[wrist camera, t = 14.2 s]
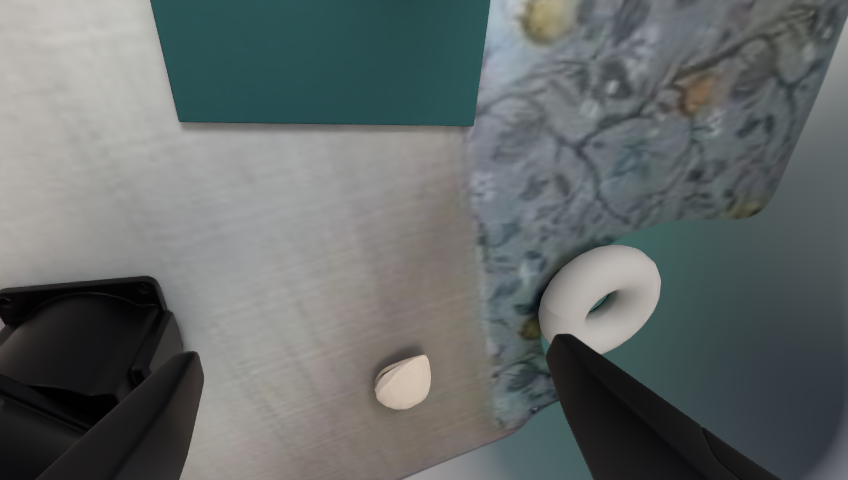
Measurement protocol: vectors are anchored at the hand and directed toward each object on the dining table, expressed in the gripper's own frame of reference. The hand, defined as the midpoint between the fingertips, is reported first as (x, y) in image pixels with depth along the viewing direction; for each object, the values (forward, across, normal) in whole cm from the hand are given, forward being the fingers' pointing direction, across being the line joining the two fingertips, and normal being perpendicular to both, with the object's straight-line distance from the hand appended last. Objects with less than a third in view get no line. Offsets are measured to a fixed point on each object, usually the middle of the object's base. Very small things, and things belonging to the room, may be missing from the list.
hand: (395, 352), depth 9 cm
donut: (+14, -18, +10) cm, 25 cm away
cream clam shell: (+12, -4, +15) cm, 20 cm away
